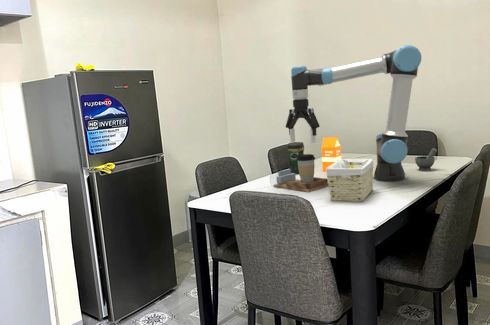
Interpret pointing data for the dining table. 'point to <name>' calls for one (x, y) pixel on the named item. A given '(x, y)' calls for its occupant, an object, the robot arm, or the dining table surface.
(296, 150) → the coffee jar
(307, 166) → the coffee cup
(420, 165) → the mortar and pestle
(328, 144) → the orange juice
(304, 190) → the housing base
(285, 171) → the block
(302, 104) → the robot arm
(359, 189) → the storage basket
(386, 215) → the dining table surface
